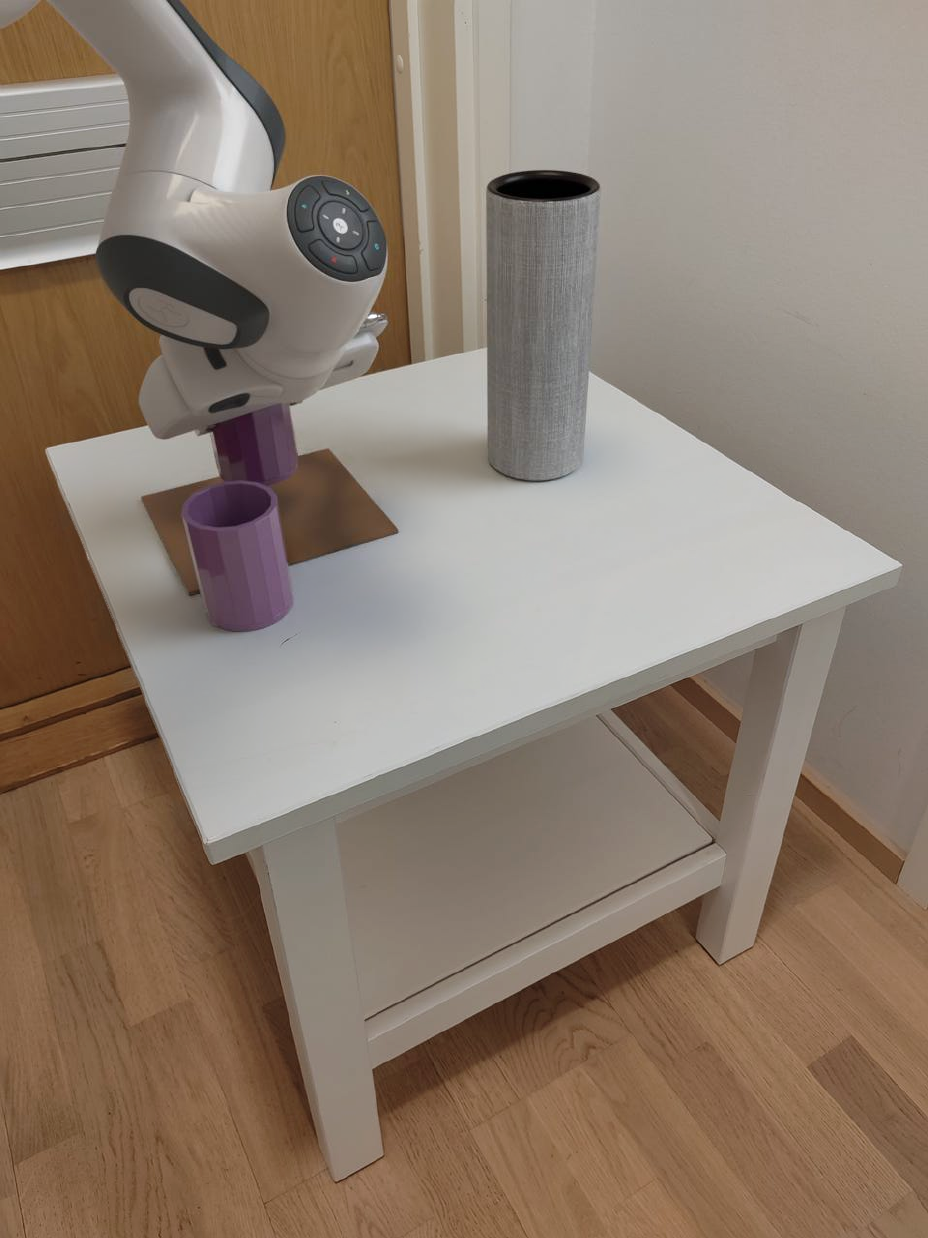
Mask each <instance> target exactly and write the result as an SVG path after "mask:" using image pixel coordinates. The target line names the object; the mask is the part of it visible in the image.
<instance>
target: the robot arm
mask: <svg viewBox="0 0 928 1238" xmlns="http://www.w3.org/2000/svg"><path fill="white" fill-rule="evenodd" d="M41 1H42V0H0V30H2V29H4V28H6V27H8V26H10V25H12V24H13V23H15V22H17V21H18V20H20V19H21V18H23V17H24V16H25V15H27V14H28V13H29V12H31V10H32V9H33V8H34V7H36V6H37V5H38V4H39V3H40V2H41ZM45 1H46V2H47V3H48V4H49V5H50V6H51V7H52V8H53V9H54V10H55V11H56V12H57V13H58V15H60V16H61V17H62V19H64V21H66V23H68V24H69V25H70V27H71V28H72V29H73V30H74V31H75V32H76V33H77V34H78V35H79V36H80V37H81V38H82V39H83V40H84V41H85V42H86V43H87V44H88V45H89V46H90V48H91V49H93V51H95V53H96V54H97V55H98V56H99V57H100V58H101V59H102V60H103V61H104V62H105V63H106V64H107V65H108V66H109V67H110V69H112V71H114V72H115V73H116V74H117V75H118V77H119V78H120V79H121V80H122V83H123V84H124V88H125V90H126V94H127V100H128V110H129V127H128V135H127V139H126V142H125V143H126V144H125V147H124V151H123V154H122V158H121V161H120V162H121V163H120V165H119V169H118V173H117V178H116V181H115V184H114V187H113V189H112V190H111V194H110V198H109V203H108V205H107V209H106V212H105V215H104V219H103V223H102V227H101V233H100V236H99V240H98V245H97V247H96V250H95V255H94V256H95V263H96V266H97V269H98V272H99V274H100V276H101V278H102V280H103V282H104V283H105V285H106V286H107V288H108V290H109V291H110V292H111V293H112V295H113V297H114V298H116V300H117V301H118V302H119V303H120V304H121V305H122V306H123V307H124V309H126V311H127V312H128V313H129V314H130V315H131V316H133V317H134V318H135V320H137V321H138V322H139V323H140V324H141V325H143V326H144V327H145V328H148V329H149V330H151V331H153V332H155V333H156V334H159V335H160V337H159V340H158V345H159V348H160V350H161V354H160V355H159V356H158V357H156V358H155V359H154V361H152V363H150V366H149V367H148V369H147V371H146V373H145V375H144V378H143V381H142V384H141V386H140V390H139V395H138V406H139V408H140V411H141V414H142V416H143V417H144V420H145V422H146V425H147V426H148V428H149V430H150V432H151V434H152V435H153V436H154V438H156V439H158V440H163V441H165V440H171V439H173V438H177V437H179V436H182V435H185V434H189V433H192V432H194V433H195V435H196V436H197V437H201V436H204V435H208V434H210V432H213V431H214V428H215V427H216V423H220V422H223V421H226V420H229V419H232V418H235V417H238V416H241V415H245V414H248V413H251V412H254V411H257V410H260V409H263V408H266V407H269V406H273V405H276V404H279V403H290V406H291V407H293V406H296V405H300V404H302V403H303V402H304V400H307V399H309V398H311V397H312V396H314V395H315V394H316V393H318V392H319V391H322V390H323V391H324V390H326V389H329V388H332V387H335V386H338V385H341V384H344V383H348V382H352V381H353V380H357V379H359V378H360V377H361V376H363V375H364V374H366V373H367V372H368V371H369V370H370V368H371V366H372V365H373V362H374V360H375V359H376V356H377V354H378V352H379V347H380V346H379V345H380V344H379V342H378V340H377V337H379V336H380V335H381V334H382V332H383V331H384V330H385V329H386V327H387V325H388V317H387V315H385V313H377V312H376V311H371V310H372V308H374V307H373V306H374V304H375V303H376V301H377V299H378V296H379V294H380V291H381V289H382V287H383V284H384V281H385V278H386V274H387V268H388V256H389V255H388V254H389V253H388V243H387V237H386V234H385V230H384V227H383V224H382V222H381V220H380V218H379V215H378V214H377V213H376V210H375V208H373V206H372V205H371V203H370V202H369V200H368V199H367V198H366V197H365V196H364V195H363V194H362V193H361V192H360V191H359V190H357V188H355V187H354V186H352V185H351V184H350V183H348V182H346V181H344V180H342V179H340V178H337V177H334V176H330V175H325V174H313V175H308V176H305V177H302V178H301V179H299V180H297V181H295V182H292V183H291V184H289V185H287V186H284V187H281V188H277V189H272V188H273V185H274V183H275V179H276V176H277V173H278V170H279V167H280V164H281V162H282V159H283V155H284V152H285V149H286V140H287V139H286V138H287V137H286V135H287V134H286V128H285V124H284V121H283V119H282V116H281V115H282V114H281V113H280V111H279V109H278V107H277V106H276V104H275V102H274V100H273V99H272V98H271V96H270V94H269V93H268V92H267V91H266V90H265V88H264V87H263V86H262V84H261V83H260V82H258V80H257V79H256V78H255V77H254V76H253V75H252V74H251V73H250V72H248V71H247V70H246V69H245V68H244V67H243V66H241V64H239V62H237V61H236V60H234V59H233V58H232V57H231V56H230V55H229V54H227V53H226V52H225V50H224V49H222V48H221V47H220V46H219V45H218V44H217V43H216V42H215V41H214V40H213V38H211V36H210V35H209V34H208V33H207V32H206V31H205V29H204V28H203V27H202V26H201V24H200V23H199V22H198V21H197V20H196V18H195V17H194V16H193V15H192V13H191V11H190V10H189V9H188V8H187V7H186V6H185V4H184V3H183V2H182V1H181V0H45ZM271 189H272V190H271Z"/></svg>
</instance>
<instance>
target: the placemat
mask: <svg viewBox="0 0 928 1238" xmlns="http://www.w3.org/2000/svg"><path fill="white" fill-rule="evenodd" d="M298 463H299V464H298V468H297V470H296V471H295V473H294V474H293V475H291V476H290V477H289V478H287V479H285V480H283V481H281V482H279V483H276V484H273V485H269V486H267V487H270V488H271V489H272V491H273V492H274V493H275V494H276V495H277V499H278V505H279V511H280V517H281V523H282V529H283V535H284V541H285V547H286V553H287V559H288V565H289V566H292V565H296V564H299V563H303V562H305V561H308V560H312V559H316V558H319V557H322V556H326V555H329V554H332V553H335V552H339V551H342V550H344V549H348V548H351V547H355V546H358V545H362V544H365V543H369V542H373V541H375V540H379V539H382V538H386V537H388V536H392V535H395V534H399V528H398V527H397V526H396V524H394V523H393V521H392V520H391V519H390V518H389V517H388V516H387V514H386V513H385V512H384V511H383V510H382V508H381V507H380V506H379V505H378V504H377V503H376V502H375V500H373V498H372V497H371V496H370V494H369V493H368V492H367V491H366V490H365V489H364V488H363V486H362V485H361V484H360V483H359V482H358V481H357V479H356V478H355V477H354V476H353V475H352V474H351V473H350V472H349V470H348V469H347V468H346V466H345V465H344V464H343V463H342V462H341V461H340V459H338V457H337V456H336V455H335V454H334V453H333V451H332V450H331V449H330V448H329V447H326V448H323V449H319V450H315V451H311V452H309V453H303V454H299V455H298ZM221 482H225V481H224V480H222V479H221V477H220V475H219V476H216V477H215V476H214V477H212V478H207V479H204V480H203V479H202V480H199V481H196V482H192V483H188V484H185V485H180V486H177V487H172V488H168V489H165V490H162V491H157V492H153V493H150V494H146V495H142V496H140V499H141V501H142V504H143V505H144V507H145V510H146V511H147V514H148V516H149V518H150V520H151V522H152V523H153V526H154V528H155V530H156V532H157V534H158V535H159V538H160V540H161V542H162V544H163V546H164V548H165V550H166V552H167V555H169V559H170V560H171V563H172V564H173V566H174V569H175V570H176V572H177V574H178V576H179V579H180V580H181V583H182V584H183V586H184V589H185V590H186V593H187V595H188V596H193V595H196V594H199V593H200V589H199V585H198V580H197V576H196V572H195V568H194V564H193V560H192V556H191V552H190V548H189V543H188V539H187V535H186V531H185V527H184V523H183V519H182V515H181V513H182V507H183V504H184V502H185V501H186V500H187V499H188V498H189V497H190V496H191V495H192V494H193V493H195V492H197V491H199V490H201V489H203V488H204V487H207V486H210V485H213V484H217V483H221Z"/></svg>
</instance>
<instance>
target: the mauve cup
mask: <svg viewBox="0 0 928 1238" xmlns="http://www.w3.org/2000/svg"><path fill="white" fill-rule="evenodd" d="M181 515H182V519H183V523H184V527H185V531H186V535H187V539H188V543H189V548H190V552H191V556H192V560H193V564H194V568H195V572H196V576H197V580H198V585H199V589H200V592H199V593H200V597H201V600H202V605H203V608H204V610H205V614H206V616H207V618H208V620H209V621H210V622H211V624H213V625H214V626H216V627H218V628H220V629H224V630H225V631H226V630H227V631H234V632H251V631H257V630H261V629H265V628H268V627H270V626H272V625H274V624H275V623H278V622H279V621H281V620H282V619H283V618H284V617H285V616H287V615H288V613H289V612H290V610H291V609H292V607H293V604H294V594H293V590H294V589H293V584H292V576H291V571H290V565H288V559H287V553H286V547H285V541H284V535H283V529H282V523H281V517H280V511H279V505H278V499H277V495H276V494H275V493H274V492H273V491H272V489H271V488H270V487H267V486H265V485H263V484H261V483H258V482H251V481H244V480H242V481H241V480H238V481H226V482H221V483H217V484H213V485H210V486H207V487H204V488H203V489H201V490H199V491H197V492H195V493H193V494H192V495H191V496H190V497H189V498H188V499H187V500H186V501H185V502H184V504H183V507H182V513H181Z"/></svg>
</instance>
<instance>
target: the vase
mask: <svg viewBox="0 0 928 1238" xmlns="http://www.w3.org/2000/svg"><path fill="white" fill-rule="evenodd" d="M485 190H486V191H485V201H486V202H485V204H486V205H485V211H486V212H485V215H486V216H485V219H486V220H485V221H486V223H485V225H486V226H485V228H486V230H485V231H486V232H485V233H486V235H485V236H486V241H485V242H486V243H485V244H486V378H487V379H486V385H487V386H486V388H487V389H486V391H487V392H486V395H487V396H486V398H487V399H486V404H487V406H486V407H487V418H486V419H487V455H488V456H487V457H488V462H489V463H490V465H491V466H492V467H493V468H494V469H495V470H496V471H498V472H499V473H501V474H503V475H505V476H507V477H511V478H512V479H513V478H514V479H518V480H522V481H530V482H531V481H532V482H535V481H537V482H538V481H539V482H540V481H541V482H542V481H550V480H556V479H559V478H563V477H565V476H567V475H569V474H571V473H573V472H575V471H576V470H577V469H578V468H579V467H580V466H581V464H582V462H583V458H584V451H585V439H586V424H587V423H586V422H587V408H588V391H589V378H590V376H589V375H590V361H591V345H592V333H593V332H592V330H593V317H594V316H593V315H594V301H595V284H596V269H597V254H598V241H599V240H598V238H599V225H600V223H599V222H600V210H601V209H600V207H601V191H602V188H601V184H600V182H599V181H597V180H596V179H595V178H593V177H591V176H589V175H586V174H584V173H583V174H582V173H579V172H575V171H567V170H557V169H556V170H555V169H534V170H533V169H532V170H522V171H515V172H510V173H509V172H508V173H505V174H502V175H499V176H497V177H495V178H493V179H492V180H490V181H489V182H488V184H487V185H486V188H485Z"/></svg>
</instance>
